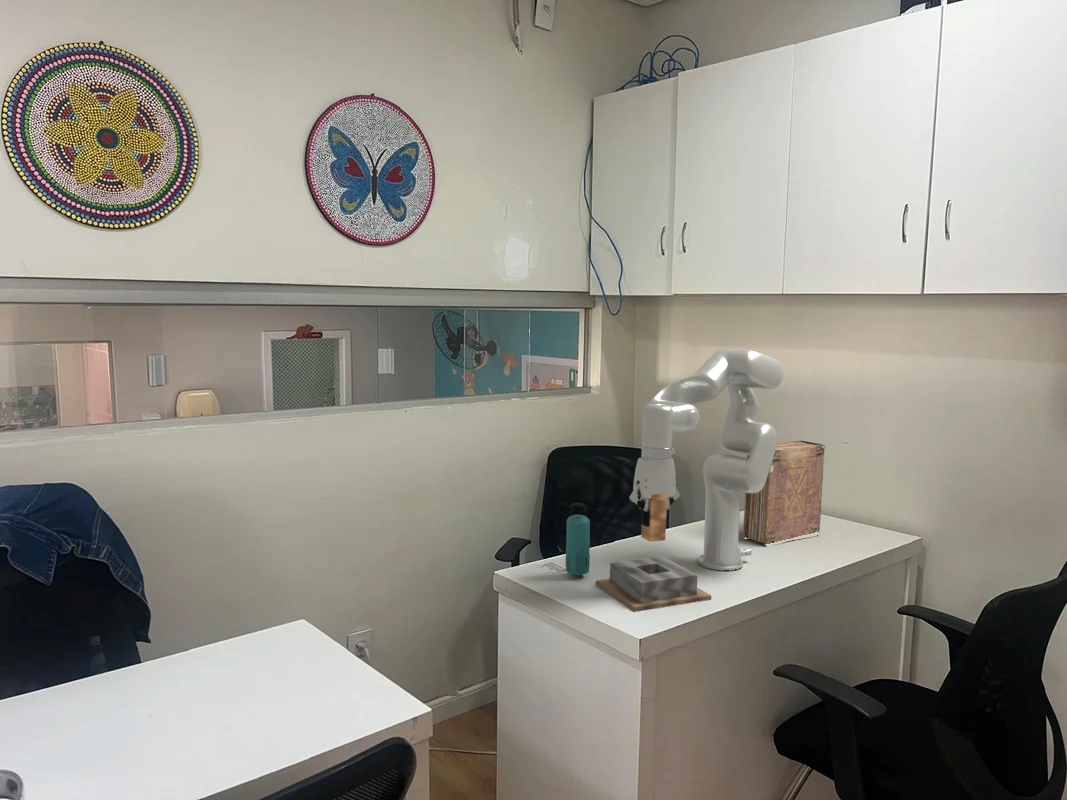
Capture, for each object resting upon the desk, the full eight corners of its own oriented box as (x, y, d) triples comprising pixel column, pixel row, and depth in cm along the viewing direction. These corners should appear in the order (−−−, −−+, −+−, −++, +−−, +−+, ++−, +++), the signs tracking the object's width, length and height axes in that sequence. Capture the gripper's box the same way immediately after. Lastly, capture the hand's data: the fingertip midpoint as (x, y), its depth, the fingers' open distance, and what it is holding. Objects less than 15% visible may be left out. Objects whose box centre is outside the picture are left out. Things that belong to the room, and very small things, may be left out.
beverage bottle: (587, 581, 206) (589, 507, 203) (563, 579, 207) (564, 506, 205) (590, 573, 212) (592, 501, 210) (566, 571, 213) (568, 500, 211)
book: (765, 547, 239) (769, 450, 235) (742, 539, 247) (746, 446, 243) (819, 535, 252) (824, 444, 249) (796, 528, 260) (801, 440, 256)
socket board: (667, 574, 213) (668, 552, 212) (711, 599, 194) (712, 576, 194) (595, 584, 204) (596, 561, 203) (634, 611, 186) (635, 587, 185)
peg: (655, 535, 200) (657, 489, 199) (665, 540, 196) (667, 493, 195) (641, 537, 198) (642, 490, 197) (650, 541, 194) (652, 494, 193)
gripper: (676, 449, 202) (673, 518, 204) (619, 452, 195) (617, 523, 197) (693, 454, 195) (690, 525, 197) (635, 457, 188) (632, 531, 190)
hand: (653, 523), depth 197 cm, fingers closed on peg, 4 cm apart
